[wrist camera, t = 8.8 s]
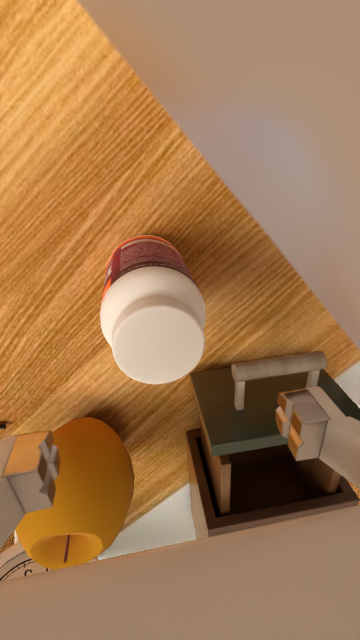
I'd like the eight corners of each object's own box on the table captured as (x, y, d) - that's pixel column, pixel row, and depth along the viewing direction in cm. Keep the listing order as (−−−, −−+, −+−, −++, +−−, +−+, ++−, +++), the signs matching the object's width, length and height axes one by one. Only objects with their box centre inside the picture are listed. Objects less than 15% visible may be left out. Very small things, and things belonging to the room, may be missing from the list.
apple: (34, 388, 29) (-15, 520, 19) (140, 396, 31) (148, 516, 21) (31, 462, 33) (-10, 602, 23) (124, 463, 35) (125, 591, 25)
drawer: (187, 333, 27) (210, 400, 20) (318, 316, 29) (384, 373, 21) (194, 467, 36) (212, 548, 29) (295, 449, 37) (336, 522, 30)
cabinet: (185, 431, 34) (207, 530, 25) (301, 412, 36) (360, 499, 27) (191, 510, 42) (210, 610, 33) (287, 492, 43) (330, 582, 34)
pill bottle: (94, 243, 24) (75, 308, 14) (175, 224, 24) (210, 274, 14) (119, 315, 27) (117, 408, 17) (190, 297, 27) (227, 378, 17)
